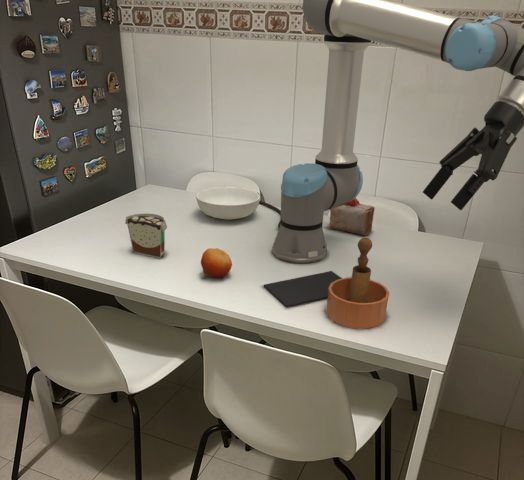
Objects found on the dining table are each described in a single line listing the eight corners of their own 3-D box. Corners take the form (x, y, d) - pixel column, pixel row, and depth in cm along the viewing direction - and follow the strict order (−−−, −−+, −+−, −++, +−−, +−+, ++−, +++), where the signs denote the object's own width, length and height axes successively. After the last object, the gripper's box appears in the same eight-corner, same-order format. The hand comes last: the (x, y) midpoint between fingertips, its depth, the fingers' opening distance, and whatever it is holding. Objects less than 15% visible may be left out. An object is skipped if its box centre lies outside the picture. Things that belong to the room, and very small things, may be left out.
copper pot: (315, 306, 121) (317, 283, 117) (362, 296, 126) (365, 273, 122) (348, 333, 111) (351, 309, 107) (397, 320, 116) (401, 297, 113)
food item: (324, 229, 164) (327, 198, 158) (334, 222, 170) (337, 191, 164) (364, 237, 158) (369, 206, 153) (374, 230, 164) (378, 199, 158)
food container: (177, 251, 146) (175, 217, 141) (165, 259, 142) (162, 224, 136) (141, 244, 150) (138, 210, 145) (128, 251, 146) (124, 216, 140)
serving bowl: (259, 227, 164) (259, 205, 160) (193, 225, 164) (192, 204, 160) (260, 206, 182) (260, 186, 178) (200, 204, 182) (199, 185, 178)
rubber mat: (263, 286, 129) (263, 284, 128) (331, 272, 136) (331, 270, 136) (286, 307, 120) (286, 305, 120) (357, 291, 128) (358, 289, 127)
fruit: (194, 263, 136) (208, 238, 133) (220, 277, 139) (235, 253, 135) (193, 277, 129) (208, 251, 126) (220, 291, 132) (236, 266, 129)
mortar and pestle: (369, 322, 115) (381, 245, 105) (340, 319, 116) (349, 242, 106) (370, 308, 120) (381, 234, 110) (342, 305, 121) (351, 231, 112)
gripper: (563, 124, 94) (482, 222, 100) (490, 121, 116) (428, 201, 122) (538, 97, 91) (456, 199, 97) (468, 99, 114) (405, 182, 120)
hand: (440, 200), depth 110 cm, fingers open, 13 cm apart
